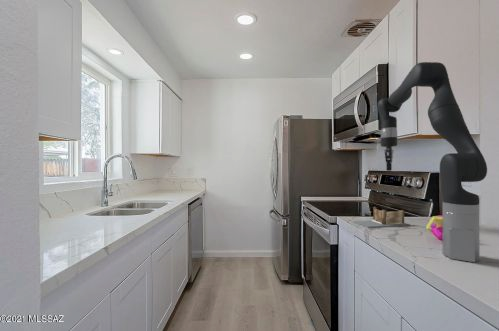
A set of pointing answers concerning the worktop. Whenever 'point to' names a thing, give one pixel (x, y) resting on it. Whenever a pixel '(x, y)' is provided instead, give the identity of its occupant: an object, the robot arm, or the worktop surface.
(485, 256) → the worktop surface
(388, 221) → the fence fixed
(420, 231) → the worktop surface
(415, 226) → the worktop surface
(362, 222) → the mat
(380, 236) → the worktop surface
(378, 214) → the fence gate
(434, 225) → the toy
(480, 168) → the robot arm
